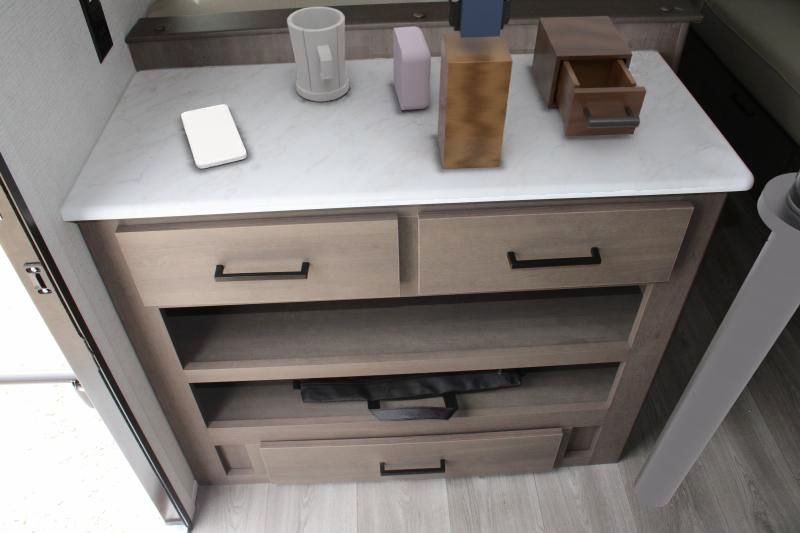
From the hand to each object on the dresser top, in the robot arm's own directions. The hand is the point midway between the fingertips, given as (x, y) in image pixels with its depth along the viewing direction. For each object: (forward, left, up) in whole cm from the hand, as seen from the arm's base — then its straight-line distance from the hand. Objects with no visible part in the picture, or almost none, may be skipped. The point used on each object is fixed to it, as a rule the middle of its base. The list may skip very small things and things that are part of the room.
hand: (477, 27), depth 79 cm
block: (0, 0, 0) cm, 0 cm away
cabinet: (-6, -26, -19) cm, 32 cm away
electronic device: (+15, -9, -19) cm, 26 cm away
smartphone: (+34, +17, -19) cm, 42 cm away
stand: (0, 0, -19) cm, 19 cm away
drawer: (-13, -16, -18) cm, 27 cm away
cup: (+28, -3, -19) cm, 34 cm away
